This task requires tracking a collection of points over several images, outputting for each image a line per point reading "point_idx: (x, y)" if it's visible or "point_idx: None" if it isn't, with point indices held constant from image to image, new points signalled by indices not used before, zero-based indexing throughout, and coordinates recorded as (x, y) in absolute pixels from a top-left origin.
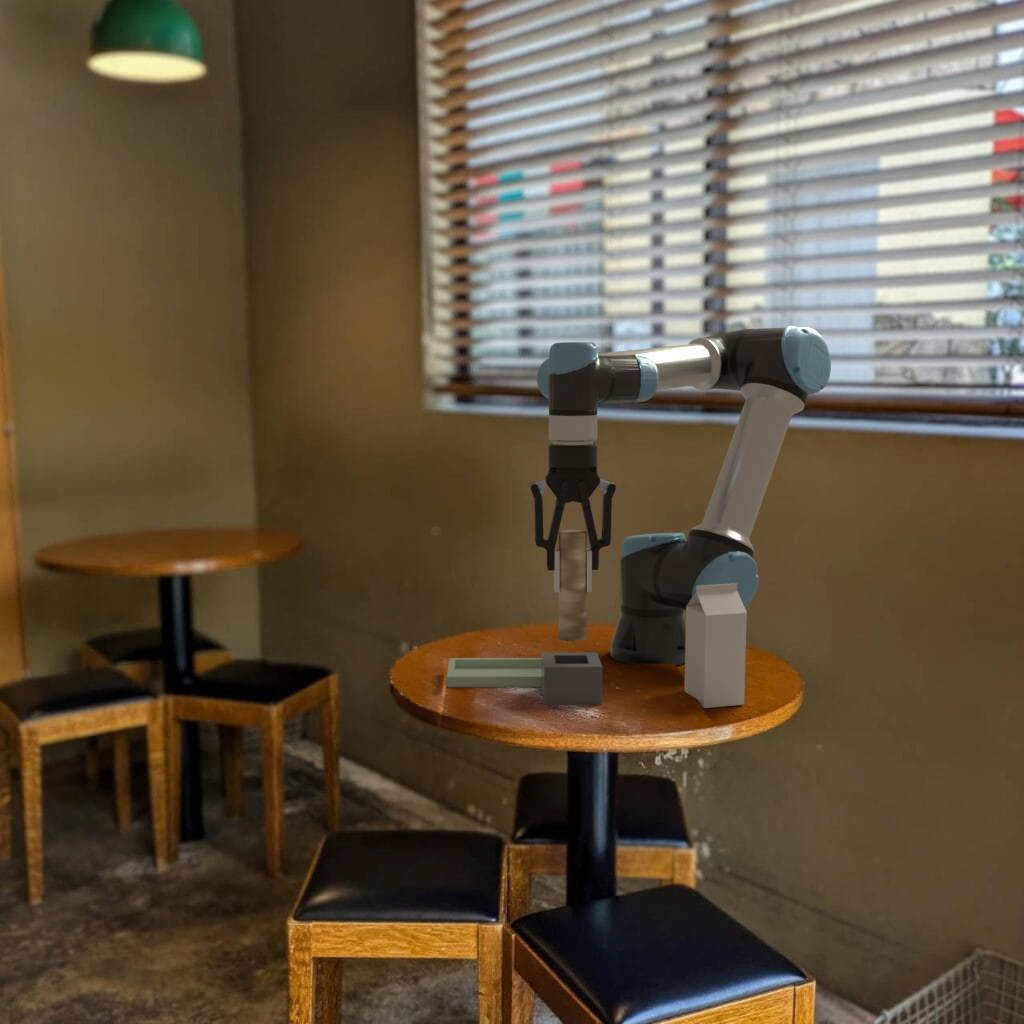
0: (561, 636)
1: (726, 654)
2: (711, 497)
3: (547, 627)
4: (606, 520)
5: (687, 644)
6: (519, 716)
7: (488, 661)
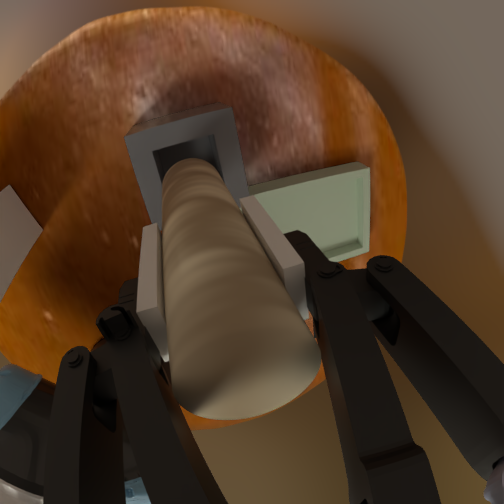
0: (213, 167)
1: None
2: None
3: None
4: (66, 455)
5: (11, 264)
6: (251, 71)
7: None
